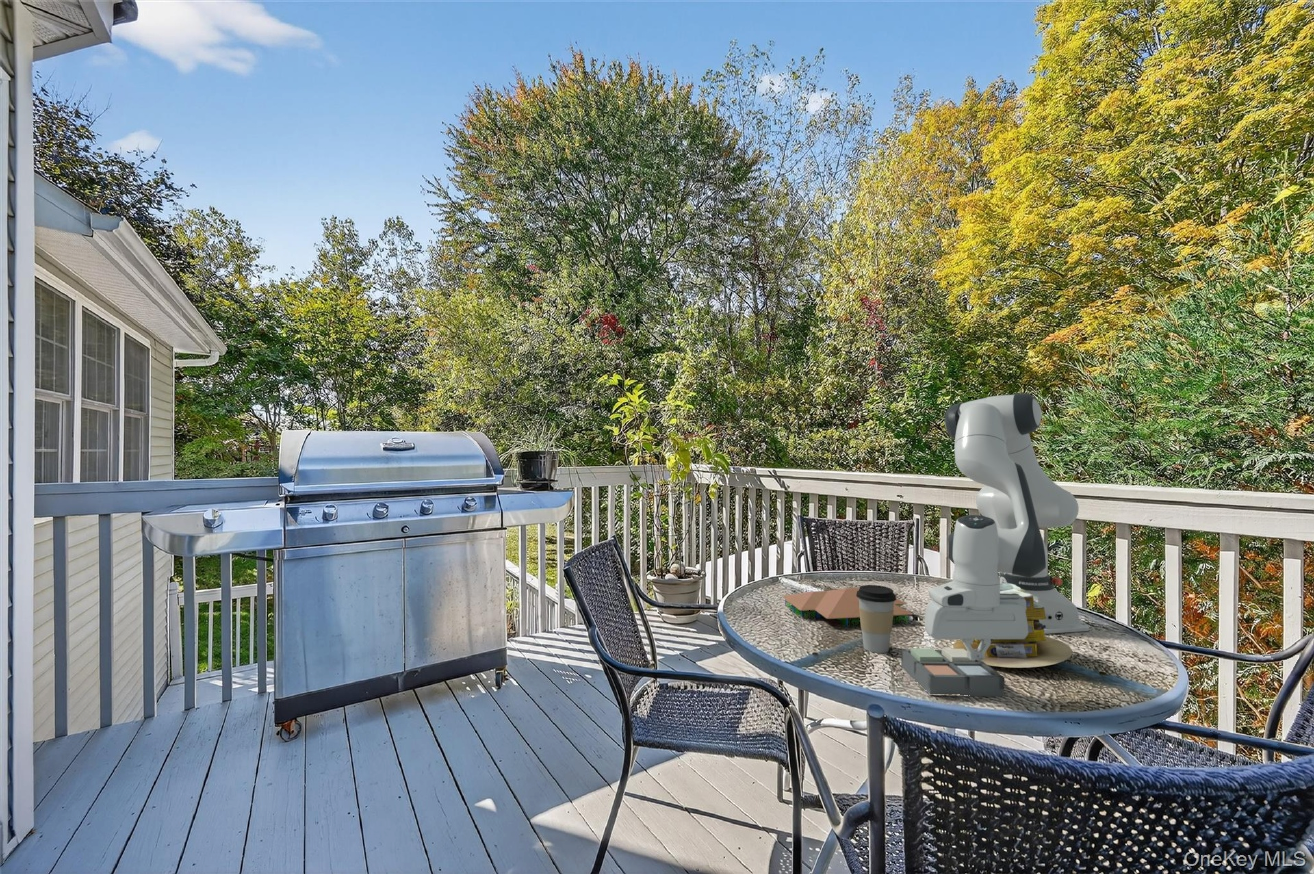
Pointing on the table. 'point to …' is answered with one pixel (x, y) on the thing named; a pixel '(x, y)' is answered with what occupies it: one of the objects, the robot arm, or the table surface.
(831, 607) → the house
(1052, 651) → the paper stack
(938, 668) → the key terracotta
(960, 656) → the key cream
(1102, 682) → the table surface
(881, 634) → the coffee cup
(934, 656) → the key sage
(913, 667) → the keypad
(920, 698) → the table surface
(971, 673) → the key bluegrey
